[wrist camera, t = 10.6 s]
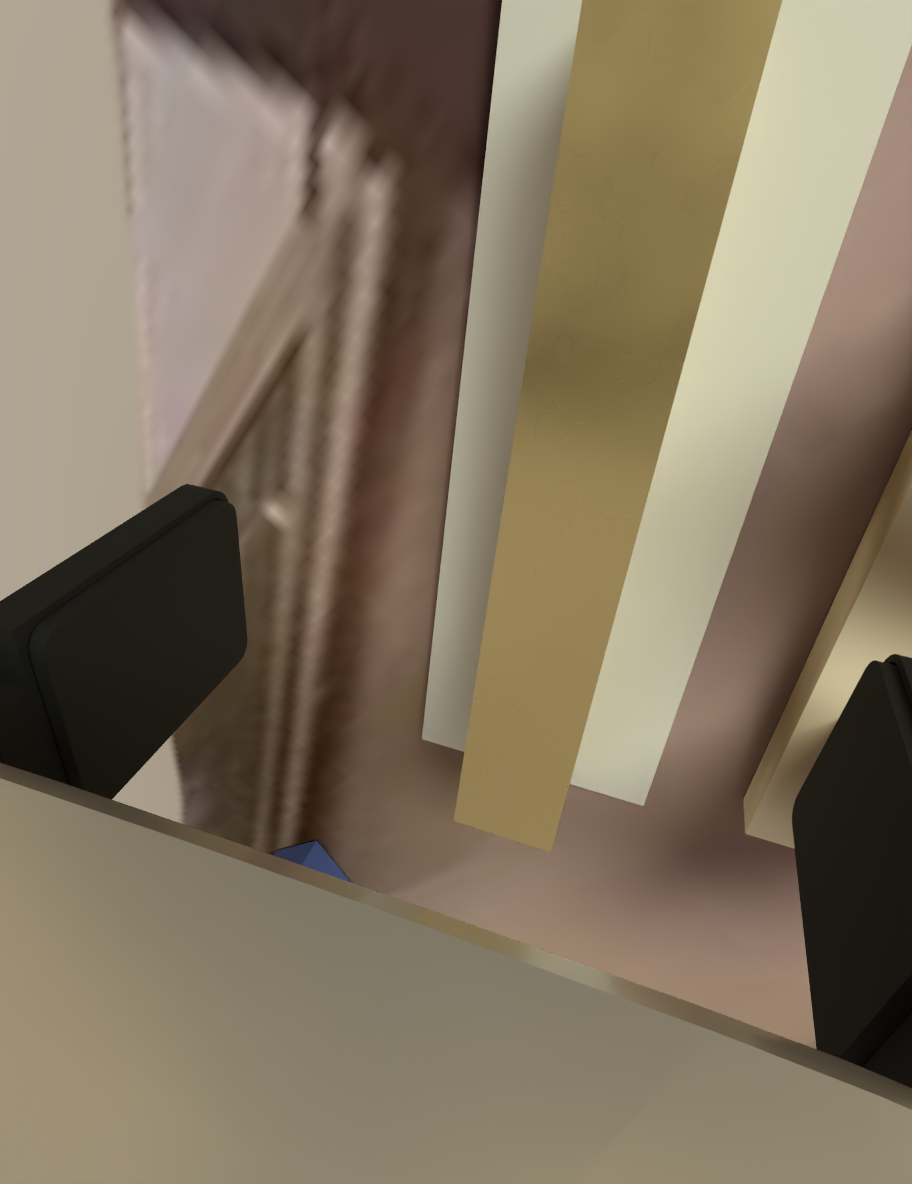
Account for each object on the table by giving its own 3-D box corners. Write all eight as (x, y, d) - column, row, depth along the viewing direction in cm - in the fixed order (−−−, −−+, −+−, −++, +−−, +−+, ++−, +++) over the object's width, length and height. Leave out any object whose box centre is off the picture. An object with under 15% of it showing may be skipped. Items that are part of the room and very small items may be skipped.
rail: (619, -5, 14) (592, -63, 11) (775, 7, 14) (795, -50, 10) (487, 735, 25) (453, 821, 21) (572, 760, 24) (551, 852, 21)
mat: (517, -65, 15) (510, -74, 14) (935, -41, 13) (944, -49, 13) (427, 728, 26) (421, 739, 26) (644, 793, 25) (643, 806, 24)
